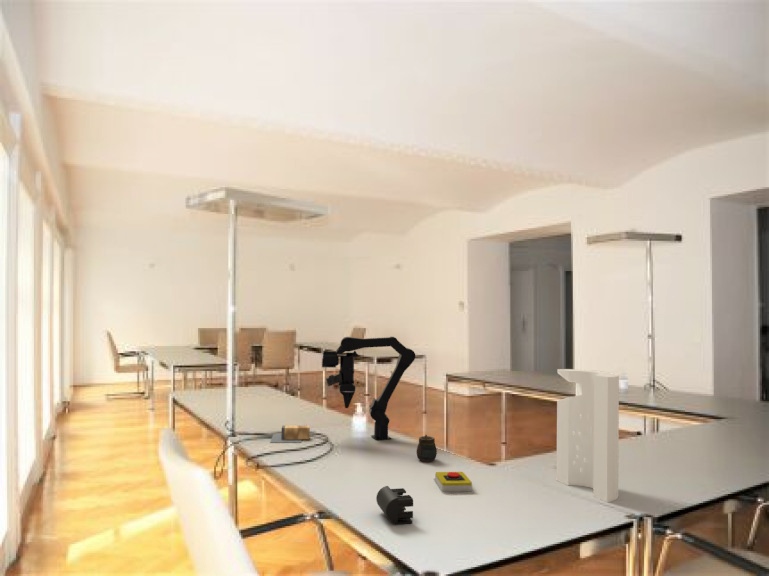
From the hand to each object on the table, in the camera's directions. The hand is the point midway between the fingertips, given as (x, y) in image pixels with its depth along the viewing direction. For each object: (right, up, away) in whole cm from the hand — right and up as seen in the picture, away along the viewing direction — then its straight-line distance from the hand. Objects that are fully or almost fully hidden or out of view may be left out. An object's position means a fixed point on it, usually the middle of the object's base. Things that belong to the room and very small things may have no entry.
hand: (346, 406), depth 228 cm
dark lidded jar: (+31, -13, -31) cm, 45 cm away
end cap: (+18, -11, -86) cm, 88 cm away
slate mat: (-24, -12, -3) cm, 27 cm away
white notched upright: (+79, -13, -59) cm, 99 cm away
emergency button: (+36, -12, -59) cm, 70 cm away
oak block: (-15, -10, -2) cm, 18 cm away
